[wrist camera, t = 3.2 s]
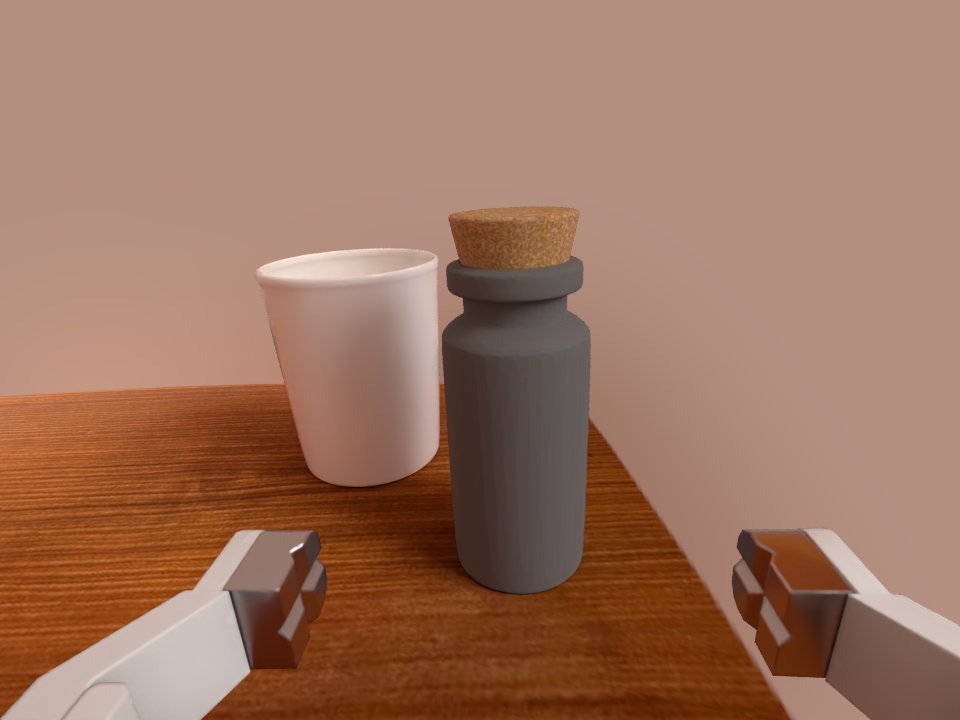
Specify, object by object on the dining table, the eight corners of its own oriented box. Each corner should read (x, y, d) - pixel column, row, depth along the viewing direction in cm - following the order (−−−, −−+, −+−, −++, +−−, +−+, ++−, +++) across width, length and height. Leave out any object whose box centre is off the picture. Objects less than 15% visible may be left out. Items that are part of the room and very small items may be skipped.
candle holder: (257, 480, 30) (211, 276, 26) (351, 409, 39) (328, 247, 34) (407, 510, 27) (381, 282, 22) (473, 425, 35) (464, 248, 31)
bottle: (547, 497, 27) (549, 202, 22) (609, 573, 22) (630, 210, 17) (441, 524, 25) (415, 211, 20) (481, 613, 20) (459, 223, 15)
